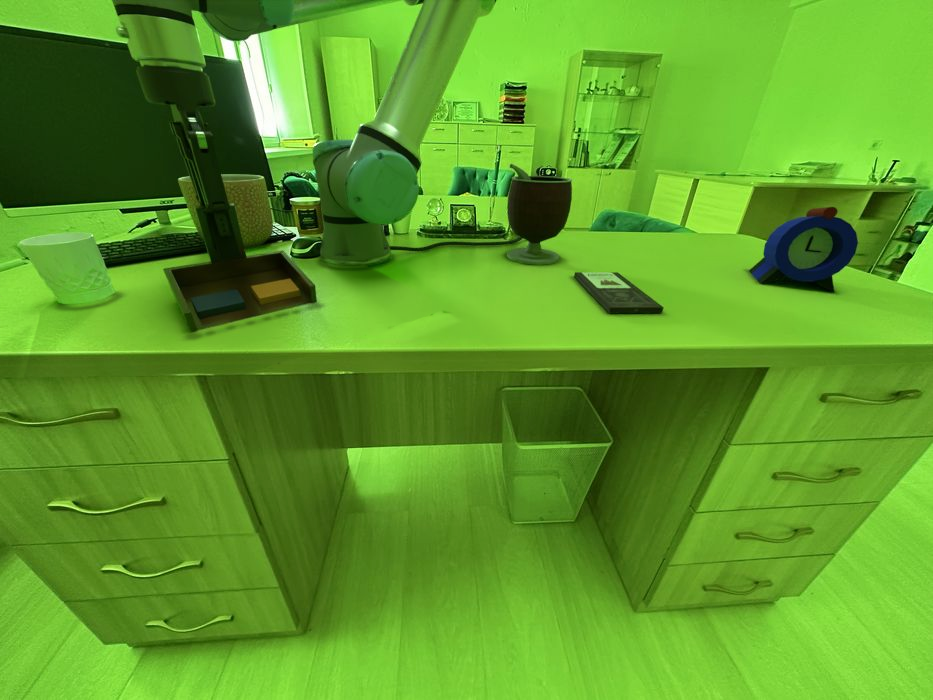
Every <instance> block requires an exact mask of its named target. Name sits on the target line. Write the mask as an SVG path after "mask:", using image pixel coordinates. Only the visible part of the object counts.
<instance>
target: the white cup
mask: <svg viewBox="0 0 933 700" xmlns="http://www.w3.org/2000/svg"><path fill="white" fill-rule="evenodd" d="M18 244H19V245H20V247H21V249H22V251H23V252H24V254H25V255H26V257H27V259H29V261H30V263H31V264H32V266H33V267H34V269H35V270H36V272H37V274H38V275H39V277H40V278H41V279H42V280H43V282H44V284H45V285H46V287H47V288H48V290H50V291H51V292H52V294H53V296H54V298H55V299H56V301H57V302H58V303H59V304H62V305H78V304H86V303H87V304H88V303H92V302H95V301H96V302H97V301H100V300H102V299H105V298H109V297H110V296H112V295H114V294H115V293H116V290H115V288H114V286H113V283H112V278H111V275H110V274H109V270H108V269H107V266H106V263H105V260H104V258H103V256H102V253H101V251H100V248H99V246H98V243H97V241H96V239H95V236H94V234H93V233H90V232H82V231H81V232H80V231H77V232H58V233H51V234H44V235H37V236H33V237H32V236H31V237H28V238H25V239H22V240H20V241H19V242H18Z"/></svg>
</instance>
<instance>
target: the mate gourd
mask: <svg viewBox="0 0 933 700" xmlns="http://www.w3.org/2000/svg"><path fill="white" fill-rule="evenodd" d="M509 169H512V170H514V172H515V173H516V174H517V175H516V176H512V177H511V182H510V185H509V190H508V194H507V207H506V211H507V220H508V226H509V227H510V229H511V230H512V232H513V233H514V235H516V236H517V237H522V238H523V239H522V240H525V241H526V242H528V243H527V245H526V247H517V248H512V249H509V250H508V251H507V254H506V257H507V258H508V259H509V260H511V261H512V262H513V261H514V262H516V263H521V264H525V265H535V266H537V265H540V266H541V265H551V264H554V263H557V262H559V260H560V254H559V253H557V252H555V251H553V250H550V249H546V248H542V245H541V243H542V242H545V241H547V240H551V239H554V238H556V237H557V236H558V235H559V234H560V233H561V232H562V231H563V229H564V228H565V227H566V224H567V222H568V219H569V216H570V212H571V206H572V200H573V185H572V181H573V179H571V178H567V177H563V176H561V177H560V176H550V175H549V176H548V175H529V174H528V173H527V172H526V171H525V170H524V169H522V168H521V167H519V166H517V165H516V164H514V163H510V164H509Z"/></svg>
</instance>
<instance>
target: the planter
mask: <svg viewBox="0 0 933 700" xmlns="http://www.w3.org/2000/svg"><path fill="white" fill-rule="evenodd" d="M221 176H222V180H223V183H224V187H225V191H226V195H227V199H228V203H229V204H230V203H233V204H234V206H235V210H236V214H237V218H238V223H239V227H240V231H241V235H242V240H243V244H244V248H245V250H246V249H252V248H255V247H260V246H262V245H264V244H266V243H267V242H268V240H269V239H270V238H271V236H272V235H273V231H274V221H273V220H274V219H273V214H272V208H271V203H270V199H269V194H268V193H269V192H268V188H267V183H266V179H265V177H264V176H262V175H257V174H241V173H240V174H239V173H237V174H236V173H234V174H230V173H229V174H226V173H225V174H222V173H221ZM177 182H178V186H179V188H180V191H181V193H182V197H183V199H184V201H185V205H186V207H187V210H188V213H189V215H190V217H191V220H192V222H193V224H194V226H195V229H196V231H197V232H198V234H199V236H200V237H201V238H202V239H203V235H202V232H201V229H200V225H199V222H198V219H197V215H196V212H195V209H194V206H200V204H199V202H198V201H197V199H196V194H195V191H194V188H193V185H192V182H191V179H190V176H189V175H188V176H182V177H179V178H178V179H177Z"/></svg>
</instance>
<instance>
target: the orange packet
mask: <svg viewBox="0 0 933 700" xmlns="http://www.w3.org/2000/svg"><path fill="white" fill-rule="evenodd" d="M251 289H252V293H253V294H254V296H255V297H256V299H257V300H258V301H259V303H260V304H261V305H263V304H267V303H272V302H276V301H280V300H285V299H289V298H294V297H298V296H300V290H299V289H298V287H297V286H296V285H295V284H294V283H293V281H292V280H291V279H285V280H279V281H274V282H269V283H264V284H259V285H254V286H251Z"/></svg>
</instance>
